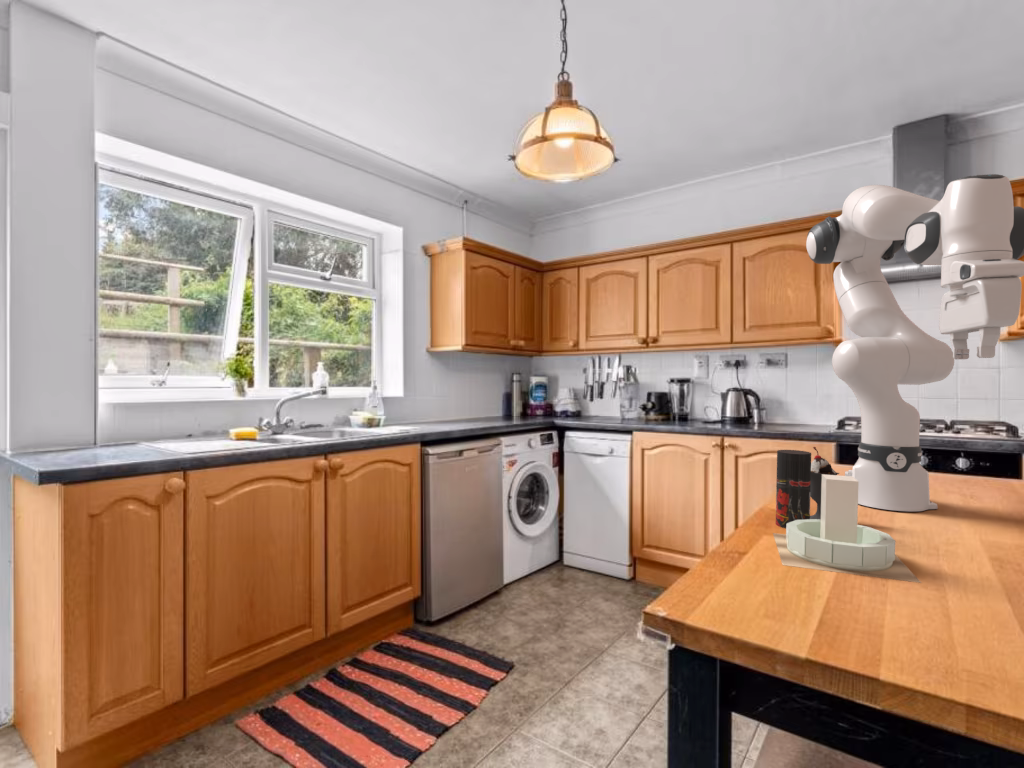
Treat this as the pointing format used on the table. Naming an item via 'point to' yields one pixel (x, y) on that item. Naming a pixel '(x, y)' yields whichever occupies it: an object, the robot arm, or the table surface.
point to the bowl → (841, 547)
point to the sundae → (818, 481)
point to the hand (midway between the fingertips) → (972, 358)
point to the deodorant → (793, 486)
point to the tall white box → (839, 508)
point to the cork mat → (895, 572)
